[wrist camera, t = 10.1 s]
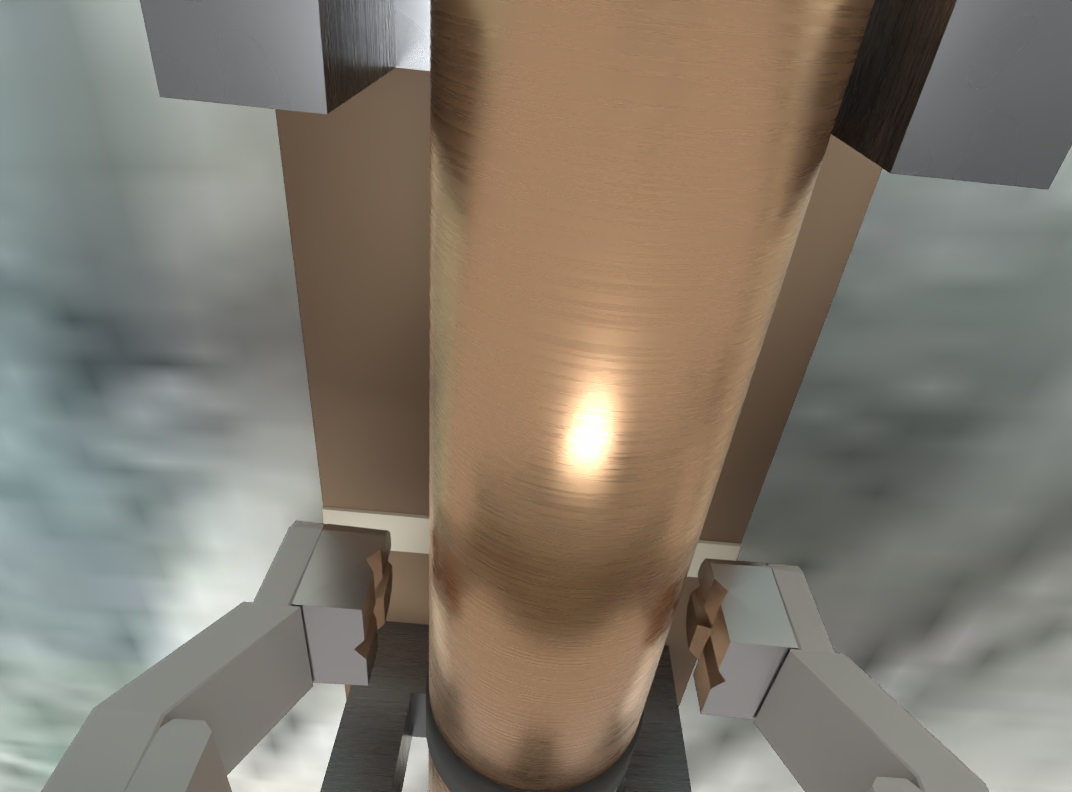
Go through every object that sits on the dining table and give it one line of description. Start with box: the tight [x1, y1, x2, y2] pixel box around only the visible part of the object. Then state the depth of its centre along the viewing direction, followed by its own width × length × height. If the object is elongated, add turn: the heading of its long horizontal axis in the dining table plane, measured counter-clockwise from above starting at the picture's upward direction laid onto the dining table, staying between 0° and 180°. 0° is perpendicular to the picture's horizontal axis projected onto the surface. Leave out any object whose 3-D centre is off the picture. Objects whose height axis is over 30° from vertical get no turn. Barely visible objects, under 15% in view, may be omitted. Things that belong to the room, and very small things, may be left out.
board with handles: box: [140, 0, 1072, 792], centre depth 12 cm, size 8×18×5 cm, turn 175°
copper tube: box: [426, 0, 875, 792], centre depth 11 cm, size 22×4×4 cm, turn 175°
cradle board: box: [276, 68, 882, 707], centre depth 14 cm, size 10×24×1 cm, turn 175°
